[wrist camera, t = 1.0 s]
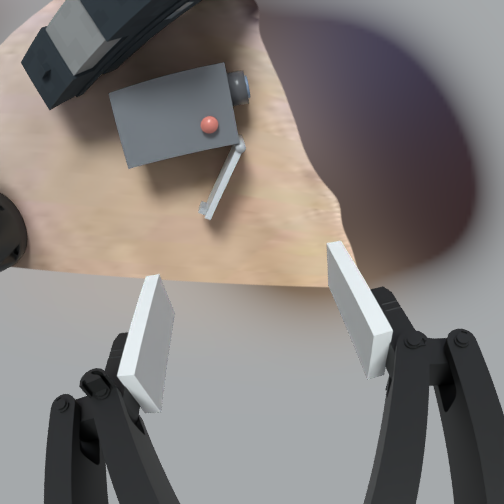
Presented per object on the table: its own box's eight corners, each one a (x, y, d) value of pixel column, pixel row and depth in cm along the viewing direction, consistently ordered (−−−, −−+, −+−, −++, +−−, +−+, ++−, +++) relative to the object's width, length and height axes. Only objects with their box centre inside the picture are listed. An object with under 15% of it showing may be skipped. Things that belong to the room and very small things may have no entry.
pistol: (273, -19, 29) (196, -35, 16) (136, 71, 44) (43, 118, 31) (236, -68, 25) (143, -101, 11) (109, 30, 39) (11, 65, 26)
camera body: (142, 156, 43) (127, 172, 36) (125, 90, 38) (106, 93, 31) (254, 132, 43) (259, 143, 36) (241, 62, 37) (244, 58, 31)
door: (232, 131, 42) (232, 139, 37) (244, 136, 43) (247, 145, 37) (200, 200, 47) (197, 218, 41) (212, 205, 47) (210, 223, 42)
